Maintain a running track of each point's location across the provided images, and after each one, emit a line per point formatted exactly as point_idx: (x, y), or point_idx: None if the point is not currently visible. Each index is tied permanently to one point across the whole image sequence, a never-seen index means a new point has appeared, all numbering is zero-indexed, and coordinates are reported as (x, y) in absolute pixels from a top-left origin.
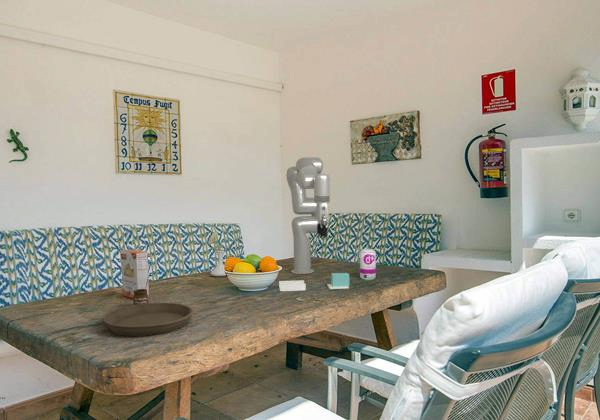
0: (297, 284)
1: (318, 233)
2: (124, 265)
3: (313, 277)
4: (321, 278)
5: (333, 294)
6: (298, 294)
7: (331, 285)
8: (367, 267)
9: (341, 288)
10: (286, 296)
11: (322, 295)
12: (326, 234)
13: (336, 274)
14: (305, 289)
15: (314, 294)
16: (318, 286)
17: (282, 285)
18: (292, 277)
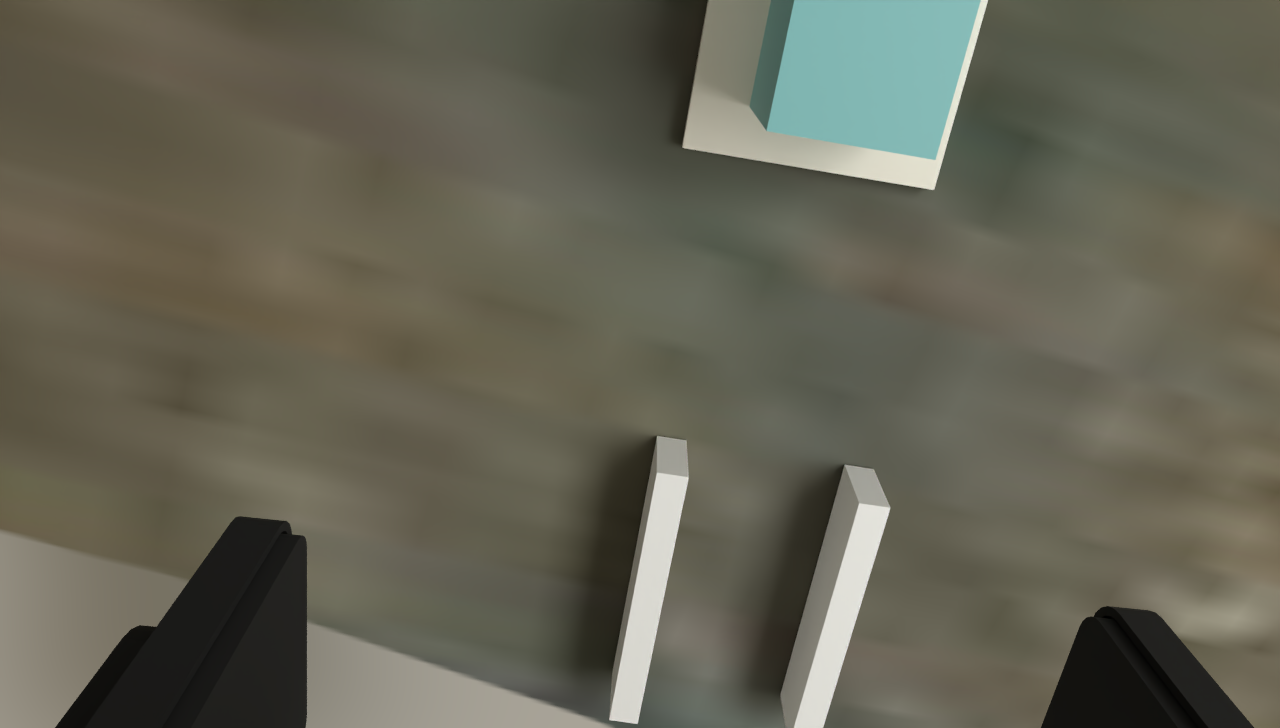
0: (863, 588)
1: (306, 710)
2: None
3: (76, 161)
4: (172, 68)
5: (1234, 240)
6: (1031, 579)
7: None
8: None
9: (975, 23)
10: None
11: (1210, 372)
12: (1181, 670)
13: (899, 75)
14: (875, 476)
15: (1116, 436)
16: (716, 274)
17: (820, 720)
18: (44, 424)
